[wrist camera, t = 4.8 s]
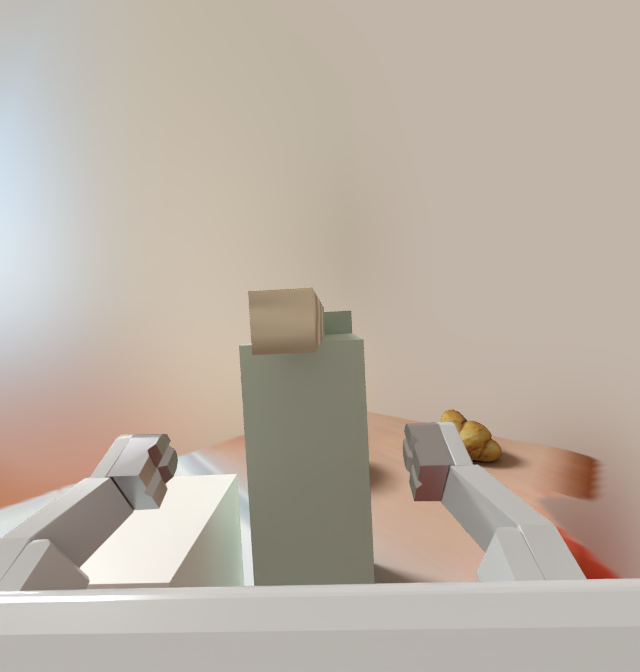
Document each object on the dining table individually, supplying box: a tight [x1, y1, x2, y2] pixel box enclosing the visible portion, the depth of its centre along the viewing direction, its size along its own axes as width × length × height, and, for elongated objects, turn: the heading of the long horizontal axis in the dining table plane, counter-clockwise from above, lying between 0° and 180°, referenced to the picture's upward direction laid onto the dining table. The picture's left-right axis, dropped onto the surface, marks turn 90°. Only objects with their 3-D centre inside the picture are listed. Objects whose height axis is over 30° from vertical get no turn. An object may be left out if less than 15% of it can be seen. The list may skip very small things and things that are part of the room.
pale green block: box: [239, 311, 375, 586], centre depth 30 cm, size 14×9×30 cm, turn 178°
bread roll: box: [441, 410, 501, 462], centre depth 64 cm, size 13×10×8 cm
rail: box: [248, 288, 325, 355], centre depth 25 cm, size 20×3×3 cm, turn 178°
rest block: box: [80, 474, 244, 589], centre depth 23 cm, size 12×7×15 cm, turn 178°
